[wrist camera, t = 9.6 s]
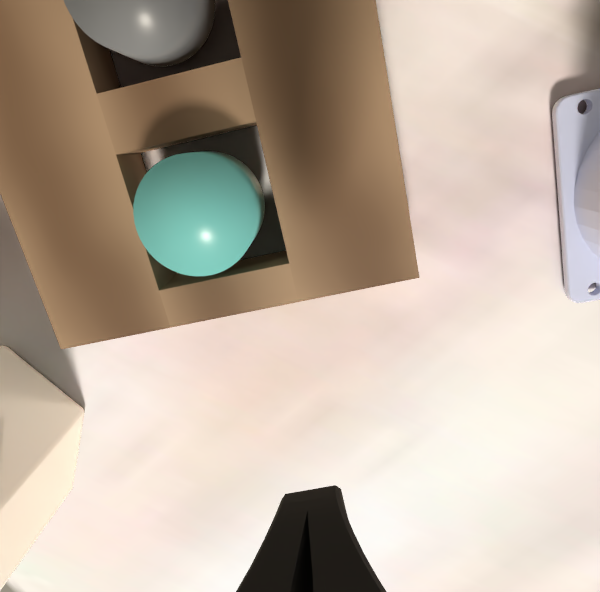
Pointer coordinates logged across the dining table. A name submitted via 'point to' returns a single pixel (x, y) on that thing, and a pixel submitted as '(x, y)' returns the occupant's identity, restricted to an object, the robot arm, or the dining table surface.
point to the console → (191, 126)
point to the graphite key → (146, 27)
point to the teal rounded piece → (198, 212)
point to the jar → (32, 455)
